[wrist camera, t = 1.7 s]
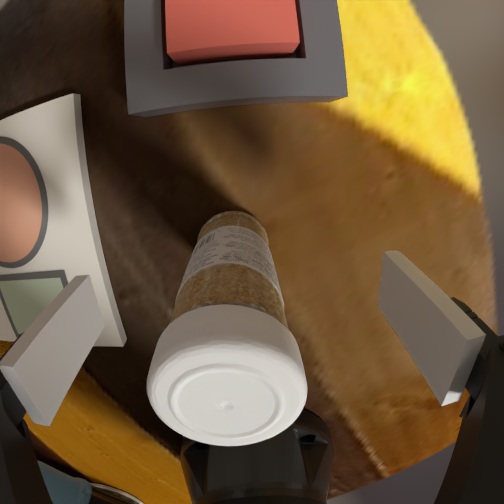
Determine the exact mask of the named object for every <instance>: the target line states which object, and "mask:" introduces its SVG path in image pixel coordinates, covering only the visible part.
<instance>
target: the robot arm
mask: <svg viewBox="0 0 504 504" xmlns="http://www.w3.org/2000/svg"><path fill="white" fill-rule="evenodd" d="M378 307H379V309H380V310H381V312H382V313H383V315H384V316H385V318H386V319H387V321H388V322H389V324H390V325H391V327H392V328H393V330H394V331H395V333H396V334H397V336H398V337H399V339H400V340H401V342H402V343H403V345H404V346H405V348H406V350H407V351H408V353H409V354H410V356H411V357H412V359H413V361H414V362H415V364H416V365H417V367H418V368H419V370H420V372H421V373H422V375H423V377H424V378H425V380H426V381H427V383H428V385H429V386H430V388H431V390H432V391H433V393H434V395H435V396H436V398H437V400H438V401H439V403H440V405H441V406H444V405H447V404H450V403H453V402H456V401H458V400H460V397H461V395H462V393H463V391H464V389H465V388H466V389H467V390H468V392H469V393H470V396H469V398H468V400H467V402H466V404H465V406H464V408H463V410H462V412H461V414H460V416H459V417H462V416H463V419H462V423H461V427H460V431H459V434H458V438H457V441H456V444H455V448H454V451H453V454H452V457H451V460H450V463H449V466H448V469H447V472H446V475H445V477H444V480H443V483H442V485H441V488H440V490H439V493H438V495H437V498H436V500H435V502H434V504H504V336H497V335H496V334H495V333H494V332H493V331H492V330H491V329H490V328H489V327H488V326H487V325H486V324H485V323H484V322H483V321H482V320H481V319H480V318H478V316H477V315H476V314H475V313H474V312H472V310H471V309H470V308H469V307H468V306H467V305H466V304H465V303H463V302H461V301H460V300H458V299H456V298H454V297H453V298H449V297H448V296H447V295H446V294H445V293H444V292H443V291H442V290H441V289H440V288H439V287H438V286H437V285H436V284H435V283H434V282H433V281H431V280H430V279H429V278H428V277H427V276H426V275H425V274H424V273H423V272H422V271H421V270H420V269H419V268H417V267H416V266H415V265H414V264H413V263H412V262H411V261H410V260H409V259H407V258H406V257H405V256H404V255H403V254H402V253H401V252H400V251H398V250H397V251H386V252H383V260H382V271H381V281H380V290H379V298H378ZM104 327H105V323H104V320H103V317H102V314H101V311H100V308H99V305H98V302H97V298H96V295H95V292H94V288H93V285H92V281H91V278H90V275H77V276H75V277H74V278H73V279H72V280H71V281H70V282H69V284H68V285H67V286H66V287H65V288H64V289H63V290H62V291H61V292H60V293H59V294H58V295H57V296H56V297H55V298H54V299H53V300H52V302H51V303H50V304H49V305H48V306H47V307H46V308H45V309H44V310H43V311H42V313H41V314H40V315H39V316H38V317H37V318H36V319H35V320H34V322H33V323H32V324H31V325H30V326H29V327H28V328H27V330H26V331H25V332H23V333H22V334H20V335H19V337H18V338H17V339H16V340H15V341H14V344H12V345H11V346H10V347H9V350H7V351H6V352H5V353H4V355H3V356H2V357H1V358H0V504H136V503H133V502H131V501H128V500H125V499H123V498H120V497H118V496H115V495H113V494H111V493H108V492H106V491H104V490H101V489H99V488H97V487H95V486H92V485H91V484H89V482H88V481H86V480H85V479H82V478H78V477H76V478H74V477H72V476H69V475H67V474H65V473H63V472H61V471H59V470H57V469H55V468H53V467H51V466H49V465H47V464H45V463H43V462H41V461H38V460H37V458H36V455H35V451H34V448H33V445H32V441H31V437H30V434H29V430H28V426H27V424H26V422H25V420H24V419H23V417H24V415H25V413H26V412H27V413H28V415H29V416H30V418H31V419H32V421H33V422H34V423H36V424H41V425H45V426H49V427H50V425H51V423H52V421H53V419H54V417H55V415H56V413H57V411H58V409H59V407H60V405H61V403H62V401H63V399H64V397H65V395H66V394H67V392H68V390H69V388H70V386H71V384H72V382H73V381H74V379H75V377H76V375H77V373H78V372H79V370H80V368H81V366H82V364H83V363H84V361H85V359H86V357H87V356H88V354H89V352H90V350H91V349H92V347H93V345H94V344H95V342H96V340H97V338H98V337H99V335H100V333H101V332H102V330H103V328H104ZM463 414H464V415H463ZM333 455H334V449H333V444H332V440H331V436H330V432H329V429H328V427H327V425H326V424H325V423H324V422H323V421H322V420H321V419H320V418H319V417H317V416H316V415H314V414H313V413H311V412H308V411H306V410H303V409H302V411H301V413H300V415H299V416H298V417H297V419H296V420H295V421H294V422H293V423H292V424H291V425H290V426H289V427H288V428H287V429H285V430H284V431H282V432H280V433H279V434H277V435H275V436H274V437H271V438H269V439H266V440H263V441H260V442H257V443H253V444H248V445H241V446H219V445H211V444H206V443H202V442H198V441H195V440H192V439H189V438H187V437H185V436H183V438H182V445H181V452H180V461H181V466H182V469H183V473H184V477H185V480H186V484H187V487H188V491H189V494H190V497H191V501H192V504H327V493H328V488H329V482H330V475H331V469H332V462H333Z"/></svg>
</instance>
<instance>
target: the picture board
mask: <svg viewBox="0 0 504 504" xmlns="http://www.w3.org/2000/svg"><path fill="white" fill-rule="evenodd" d="M77 275H90V278H91V281H92V285H93V288H94V292H95V295H96V298H97V302H98V305H99V308H100V311H101V314H102V317H103V320H104V323H105V327H104V328H103V330H102V332H101V333H100V335H99V337H98V338H97V340H96V342H95V344H94V345H93V346H117V347H123V346H124V344H125V342H126V340H127V337H126V334H125V331H124V328H123V325H122V321H121V318H120V315H119V311H118V308H117V304H116V301H115V297H114V294H113V290H112V286H111V283H110V279H109V275H108V271H107V267H106V263H105V259H104V254H103V250H102V246H101V241H100V236H99V232H98V227H97V222H96V217H95V211H94V206H93V200H92V194H91V188H90V182H89V175H88V168H87V161H86V153H85V144H84V135H83V125H82V113H81V98H80V94H75V93H72V94H69V95H66V96H63V97H60V98H57V99H54V100H51V101H48V102H45V103H43V104H40V105H37V106H34V107H32V108H29V109H27V110H24V111H22V112H19V113H17V114H14V115H12V116H9V117H7V118H5V119H2V120H0V340H2V341H13V342H14V341H15V340H16V339H17V338H18V337H19V335H20V334H22V333H23V332H25V331H26V330H27V328H28V327H29V326H30V325H31V324H32V323H33V322H34V320H35V319H36V318H37V317H38V316H39V315H40V314H41V313H42V311H43V310H44V309H45V308H46V307H47V306H48V305H49V304H50V303H51V302H52V300H53V299H54V298H55V297H56V296H57V295H58V294H59V293H60V292H61V291H62V290H63V289H64V288H65V287H66V286H67V285H68V284H69V282H70V281H71V280H72V279H73V278H74V277H75V276H77Z"/></svg>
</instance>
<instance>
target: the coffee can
mask: <svg viewBox="0 0 504 504" xmlns="http://www.w3.org/2000/svg"><path fill="white" fill-rule="evenodd" d="M89 484H91V485H92V486H95V487H97V488H99V489H101V490H104V491H106V492H108V493H111V494H113V495H115V496H118V497H120V498H123V499H125V500H128V501H131V502H133V503H136V504H143V503H142V502H141V501H140V500H139V499H137V498H136V497H134V496H132V495H130V494H128V493H126V492H124V491H121V490H119V489H116V488H113V487H110V486H106V485H102V484H97V483H89Z"/></svg>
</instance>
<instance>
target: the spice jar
mask: <svg viewBox="0 0 504 504" xmlns="http://www.w3.org/2000/svg"><path fill="white" fill-rule="evenodd" d="M147 395H148V398H149V401H150V404H151V406H152V408H153V409H154V411H155V413H156V414H157V415H158V417H159V418H160V419H161V420H162V421H163V422H164V423H165V424H166V425H167V426H169V427H170V428H171V429H173V430H174V431H176V432H177V433H179V434H181V435H183V436H185V437H187V438H189V439H192V440H195V441H198V442H202V443H206V444H211V445H219V446H241V445H248V444H253V443H257V442H260V441H263V440H266V439H269V438H271V437H274V436H275V435H277V434H279V433H280V432H282V431H284V430H285V429H287V428H288V427H289V426H290V425H291V424H292V423H293V422H294V421H295V420H296V419H297V417H298V416H299V415H300V413H301V411H302V409H303V407H304V405H305V402H306V398H307V382H306V377H305V372H304V367H303V363H302V359H301V355H300V351H299V348H298V345H297V343H296V340H295V338H294V337H293V335H292V334H291V332H290V331H289V329H288V326H287V322H286V318H285V314H284V302H283V298H282V294H281V290H280V286H279V282H278V278H277V274H276V270H275V267H274V263H273V259H272V255H271V252H270V250H269V242H268V237H267V234H266V231H265V229H264V227H263V226H262V225H261V224H260V222H259V221H258V220H257V219H255V218H254V217H253V216H251V215H249V214H247V213H244V212H239V211H226V212H222V213H219V214H217V215H215V216H213V217H212V218H211V219H209V220H208V221H207V223H206V224H204V226H203V227H202V229H201V231H200V233H199V236H198V240H197V244H196V246H195V248H194V251H193V253H192V256H191V258H190V261H189V264H188V266H187V269H186V271H185V274H184V277H183V280H182V283H181V286H180V289H179V292H178V294H177V297H176V303H175V307H174V310H173V315H172V319H171V321H170V324H169V325H168V327H167V328H166V329H165V330H164V331H163V333H162V335H161V336H160V338H159V340H158V343H157V346H156V349H155V352H154V355H153V358H152V361H151V365H150V369H149V373H148V377H147Z"/></svg>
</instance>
